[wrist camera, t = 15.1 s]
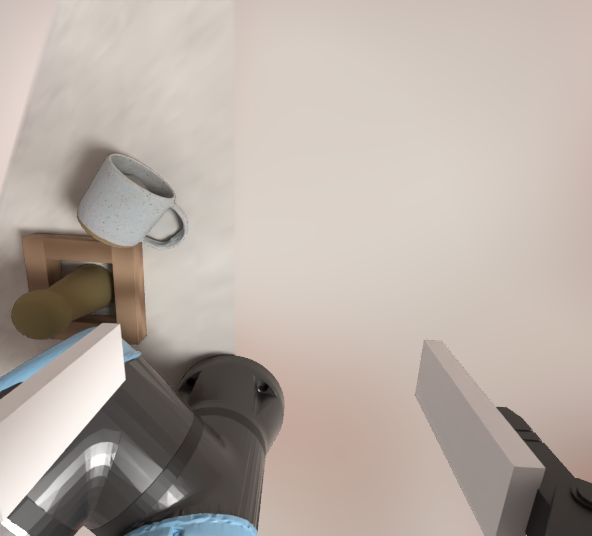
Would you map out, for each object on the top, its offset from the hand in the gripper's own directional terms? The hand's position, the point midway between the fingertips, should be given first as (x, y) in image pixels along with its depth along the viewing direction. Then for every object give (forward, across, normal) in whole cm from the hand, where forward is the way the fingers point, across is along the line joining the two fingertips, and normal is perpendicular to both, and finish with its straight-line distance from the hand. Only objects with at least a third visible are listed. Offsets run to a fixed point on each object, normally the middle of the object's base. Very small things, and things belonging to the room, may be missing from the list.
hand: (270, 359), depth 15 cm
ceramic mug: (+29, +17, -3) cm, 34 cm away
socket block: (+28, +25, +8) cm, 39 cm away
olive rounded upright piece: (+29, +25, +8) cm, 39 cm away
